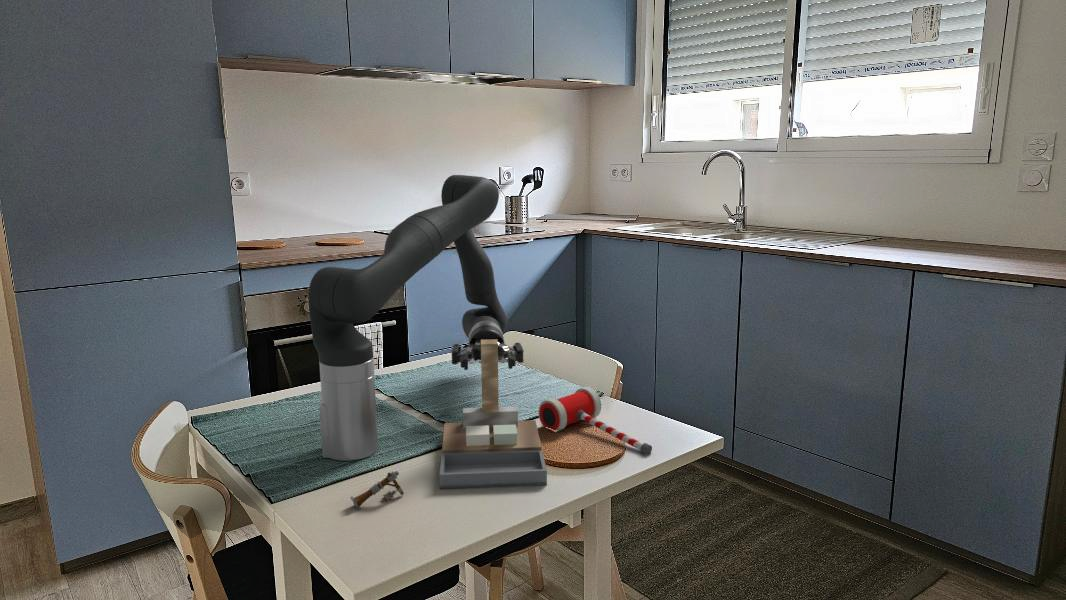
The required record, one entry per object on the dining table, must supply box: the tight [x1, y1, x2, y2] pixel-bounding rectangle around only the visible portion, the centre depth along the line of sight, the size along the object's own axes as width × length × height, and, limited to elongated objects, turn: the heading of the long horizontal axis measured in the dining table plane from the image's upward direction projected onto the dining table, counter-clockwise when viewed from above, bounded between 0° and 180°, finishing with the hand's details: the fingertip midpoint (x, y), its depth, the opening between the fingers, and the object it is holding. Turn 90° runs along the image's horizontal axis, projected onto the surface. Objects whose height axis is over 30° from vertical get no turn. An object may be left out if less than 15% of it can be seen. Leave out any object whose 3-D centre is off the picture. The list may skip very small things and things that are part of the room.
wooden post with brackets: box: [349, 470, 405, 511], centre depth 111 cm, size 2×8×4 cm, turn 120°
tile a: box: [466, 425, 490, 446], centre depth 126 cm, size 4×4×2 cm
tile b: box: [493, 424, 517, 445], centre depth 126 cm, size 4×4×2 cm
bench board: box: [441, 419, 543, 454], centre depth 129 cm, size 17×12×3 cm
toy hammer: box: [538, 386, 653, 456], centre depth 135 cm, size 23×12×6 cm, turn 43°
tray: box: [439, 449, 548, 490], centre depth 119 cm, size 17×8×2 cm, turn 95°
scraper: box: [462, 339, 519, 428], centre depth 131 cm, size 10×3×16 cm, turn 95°
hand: (488, 364), depth 137 cm, fingers open, 8 cm apart
